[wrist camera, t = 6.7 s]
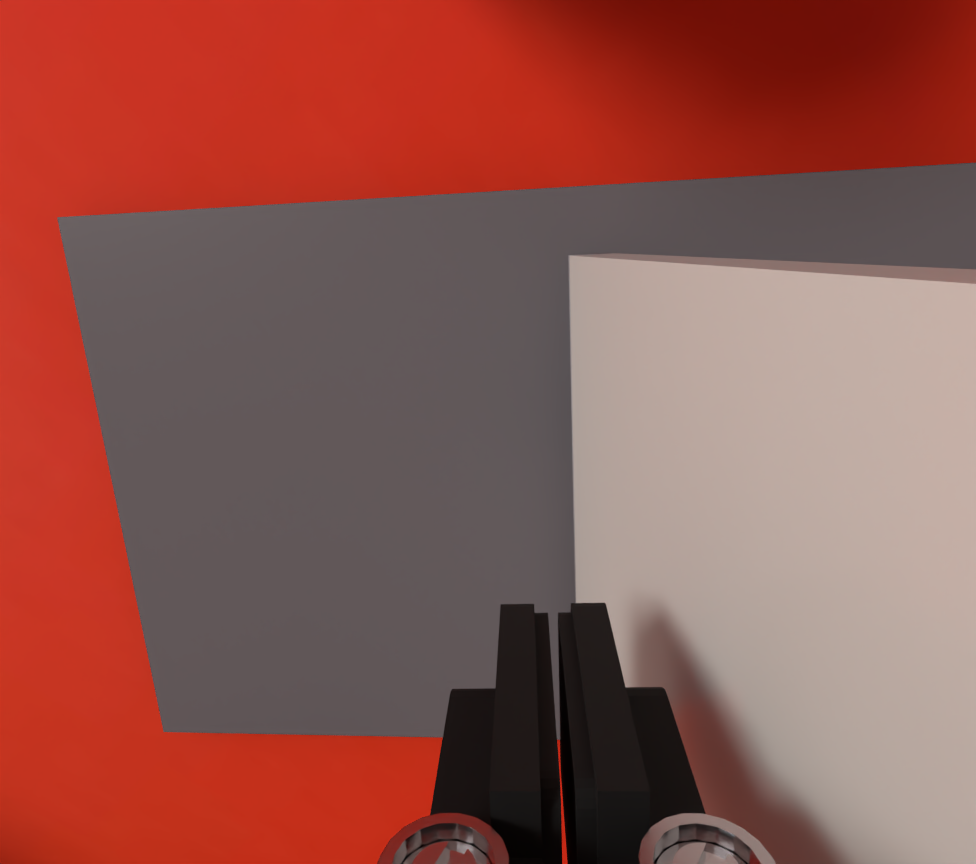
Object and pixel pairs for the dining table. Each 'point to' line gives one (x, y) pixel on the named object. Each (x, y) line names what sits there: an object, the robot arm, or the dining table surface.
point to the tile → (790, 536)
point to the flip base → (392, 418)
